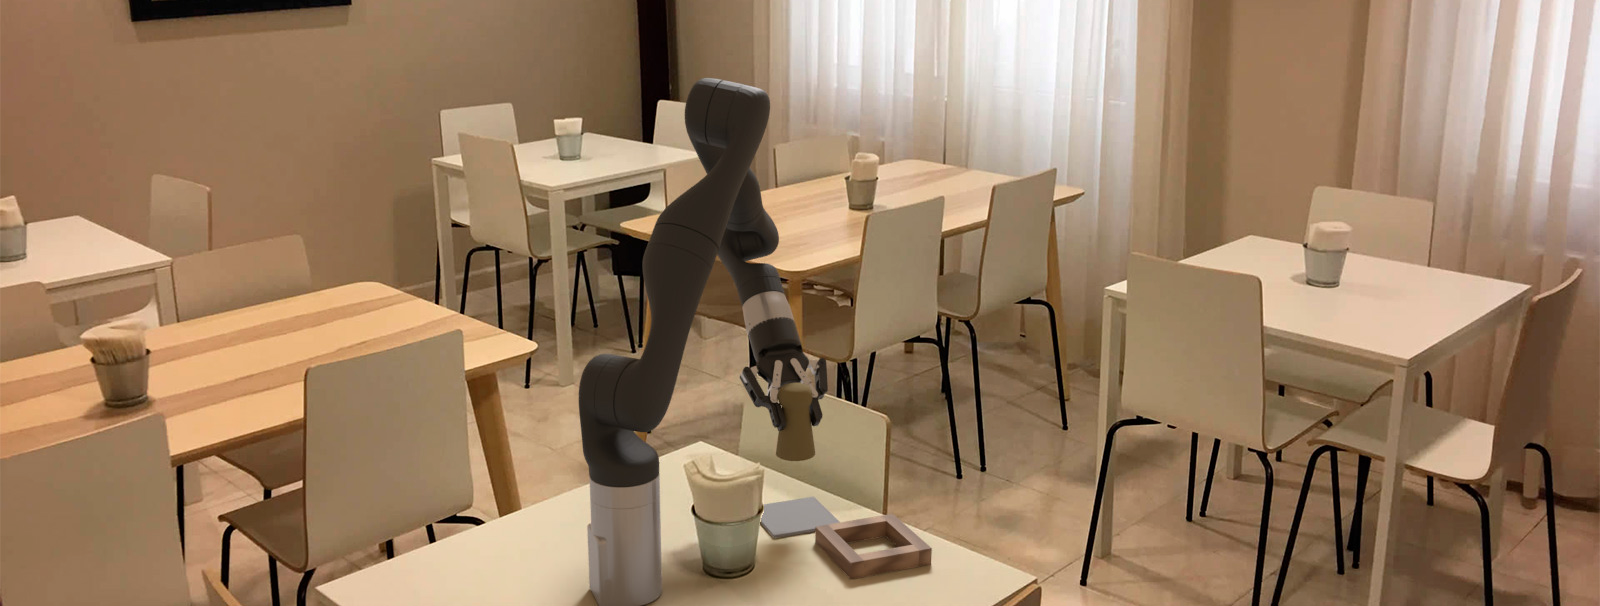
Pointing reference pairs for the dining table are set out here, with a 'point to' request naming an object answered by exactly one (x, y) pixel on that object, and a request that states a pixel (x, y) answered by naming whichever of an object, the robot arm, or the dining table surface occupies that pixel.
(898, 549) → the walnut board
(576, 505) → the dining table surface
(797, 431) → the cork
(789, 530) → the slate mat
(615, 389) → the robot arm
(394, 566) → the dining table surface
